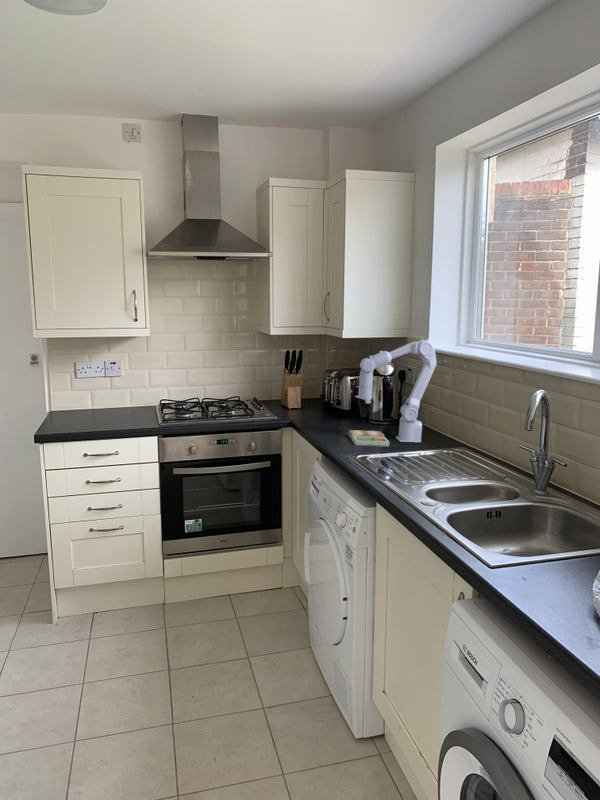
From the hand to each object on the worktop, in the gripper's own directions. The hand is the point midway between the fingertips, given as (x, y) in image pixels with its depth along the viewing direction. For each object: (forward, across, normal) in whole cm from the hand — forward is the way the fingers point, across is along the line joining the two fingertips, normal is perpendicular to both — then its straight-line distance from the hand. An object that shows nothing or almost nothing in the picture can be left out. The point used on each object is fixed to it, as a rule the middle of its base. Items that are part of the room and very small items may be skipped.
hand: (363, 416), depth 265 cm
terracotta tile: (+8, +10, +5) cm, 14 cm away
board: (+9, +2, +1) cm, 9 cm away
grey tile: (+6, +13, -2) cm, 14 cm away
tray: (+9, +11, +1) cm, 14 cm away
